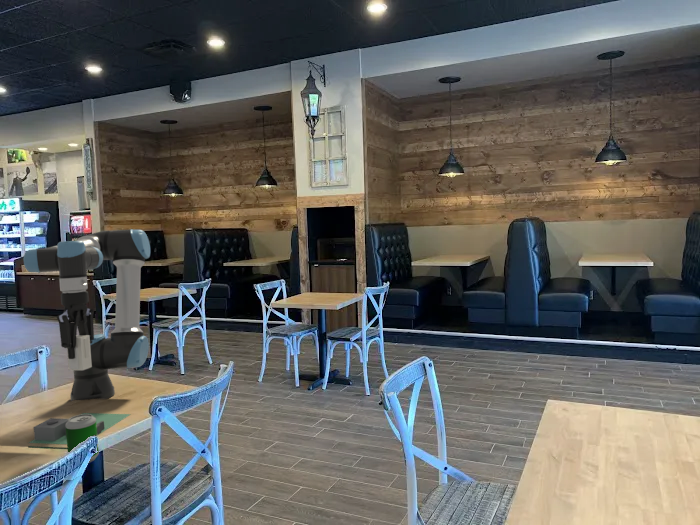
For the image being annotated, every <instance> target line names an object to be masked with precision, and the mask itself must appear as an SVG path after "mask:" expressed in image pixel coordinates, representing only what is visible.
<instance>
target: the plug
mask: <svg viewBox="0 0 700 525" xmlns="http://www.w3.org/2000/svg"><path fill="white" fill-rule="evenodd" d="M71 344H72V343H71ZM76 347H78V355H79V368H80V369H70V363H69V358H68V349H67V348H66V355H67V368H68V371H73V370H85V369H88V368H91V367H92V362H91V349H90V335H79V334H78V335H76Z"/></svg>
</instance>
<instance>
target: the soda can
mask: <svg viewBox="0 0 700 525" xmlns="http://www.w3.org/2000/svg"><path fill="white" fill-rule="evenodd" d="M68 419H69V420H68V422H67V423H66V424H65V426H66V437H67V444H66V446H67V447H66V448H68V449H67V453H68V452H70V451H71V450H72V449H73V448H74V447H76V446H77V445H78V444H79V443H81V442H83V441H85V440H86V439H87V438H88V437H90V436H97V437H98V435H97V425H96V418H95V417H93V416H92V415H91V414H82V413H81V415H80V414H78V415H73V416H71V417H69V418H68ZM97 451H98V452H97V453H95V454H94V455H93V456H92V457H91V459H90V461H89V463H92V462H93V461H95V460H96V458H97V457H98V456H99V454H100V452H99V443H98V444H97ZM89 463H88V464H89Z"/></svg>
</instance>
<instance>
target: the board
mask: <svg viewBox="0 0 700 525" xmlns="http://www.w3.org/2000/svg"><path fill="white" fill-rule="evenodd" d="M81 414H91V415H92V416H93V417H95V418H96V425H97V436H99V435H101V434H102V433H105V431H107V430H109V429H110V428H112V427H113V426H115V425H116V424H118V423H120V422H122V421H123V420H124V419H126V418H128V417H129V416H131V415H132V414H130V413H100V412H99V413H97V412H96V413H95V412H82V413H81ZM81 414H79V415H81ZM69 419H70V418H61V417H60V418H56V417H55V418H54V417H53V418H52V417H51V418H48V419H47V420H44V421H43V422H41V423H39V424H36V425H35V426H33V437H34V439H32V440H31V441H29V442H28V444H46V445H67V437H66V426H65V424H66V423H67V422H68V420H69ZM28 448H29V449H52V450H68V448H67V447H63V446H61V447H60V446H34V445H33V446H32V445H28Z"/></svg>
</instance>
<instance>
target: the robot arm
mask: <svg viewBox="0 0 700 525" xmlns="http://www.w3.org/2000/svg"><path fill="white" fill-rule="evenodd" d="M147 235H148V234H146V232H145V231H144V230H142V229H132V228H130V229H118V230H115V229H114V230H101V231H98V232H97V231H96V232H93V233H90V234H87V235H82V236H80V237H79V238H77V239H76V240H70V241H69V240H68V241H67V240H66V241H64V240H63V241H59V242H58V243H57V245H53V246H50V247H49V246H48V247H45V248H32V249H28V250H26V251H25V253H24V256H23V265H24V269H25V270H26V271H27V272H29V273H38V274H40V273H49V272H50V273H52V272H58V273H59V274H58V275H59V277H58V279H59V291H60V292H61V294H60V302H61V303H60V304H61V306H63V307H64V310H63V313H62V314H59V315H57V317H56V319H57V322H58V325H59V326H58V327H59V333H60V334H59V335H60V336H59V337H60V343H61V344H60V346H61V347H62V348H64V349H66V350H67V349H68V357H67V359H68V358H69V363H70V369H80V368H79V355H78V347H76V335H77V334H78V335H90V349H91V362H92V367H91V368H88V369H85V370H72V372H73V378H74V379H73V384H72V387H71V392H70V395H69V396H70V402H73V401H75V400H76V401H87V400H106V399H109V398H111V397H113V396H114V395H115V394H116V392H115V391H116V390H115V386H114V385H113V382H112V380H111V377H110V375H109V370H117V369H132V368H140V367H141V366H143V365H144V364H145V362H146V360H147V358H148V355H149V349H150V344H149V338H148V337H147V336H145V335H144V331H143V330H142V328H140V321H141V320H140V317H141V316H140V315H141V314H140V313H141V312H140V311H141V308H140V307H141V304H140V303H141V272H142V271H141V268H142V267H143V266H144V265H145V262H146V260H147V259H149V258H150V257H151V244H150V240H149V237H148V236H147ZM104 261H112V264H113V265H114V266H115V267H116V286H115V287H116V289H115V292H116V293H115V294H116V295H115V319H114V320H115V322H114V324H115V326H114V329H112V331H111V332H110V337H109V338H107V337H106V335H105V334H103V333H99V334H95V330H94V328H95V327H94V313H95V310H94V308H88V306H87V304H89V302H90V297H89V291H87V290H88V289H89V288H88V272H87V271H89V270H90V271H93V270H94V269H97V268H99V267H101V265H102V264H103V262H104ZM77 332H78V333H77ZM71 343H72V344H71Z"/></svg>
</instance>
